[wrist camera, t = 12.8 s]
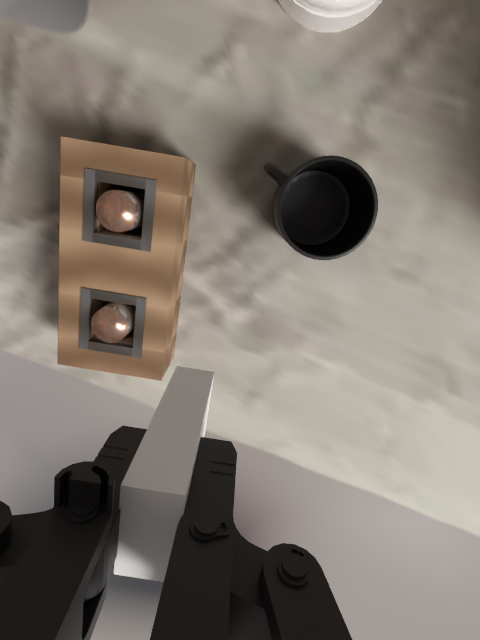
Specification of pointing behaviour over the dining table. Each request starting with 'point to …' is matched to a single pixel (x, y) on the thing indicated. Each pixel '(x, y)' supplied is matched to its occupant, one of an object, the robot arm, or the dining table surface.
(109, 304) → the peg
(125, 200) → the peg
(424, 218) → the dining table surface
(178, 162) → the socket block
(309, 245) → the mug
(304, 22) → the honey pot
